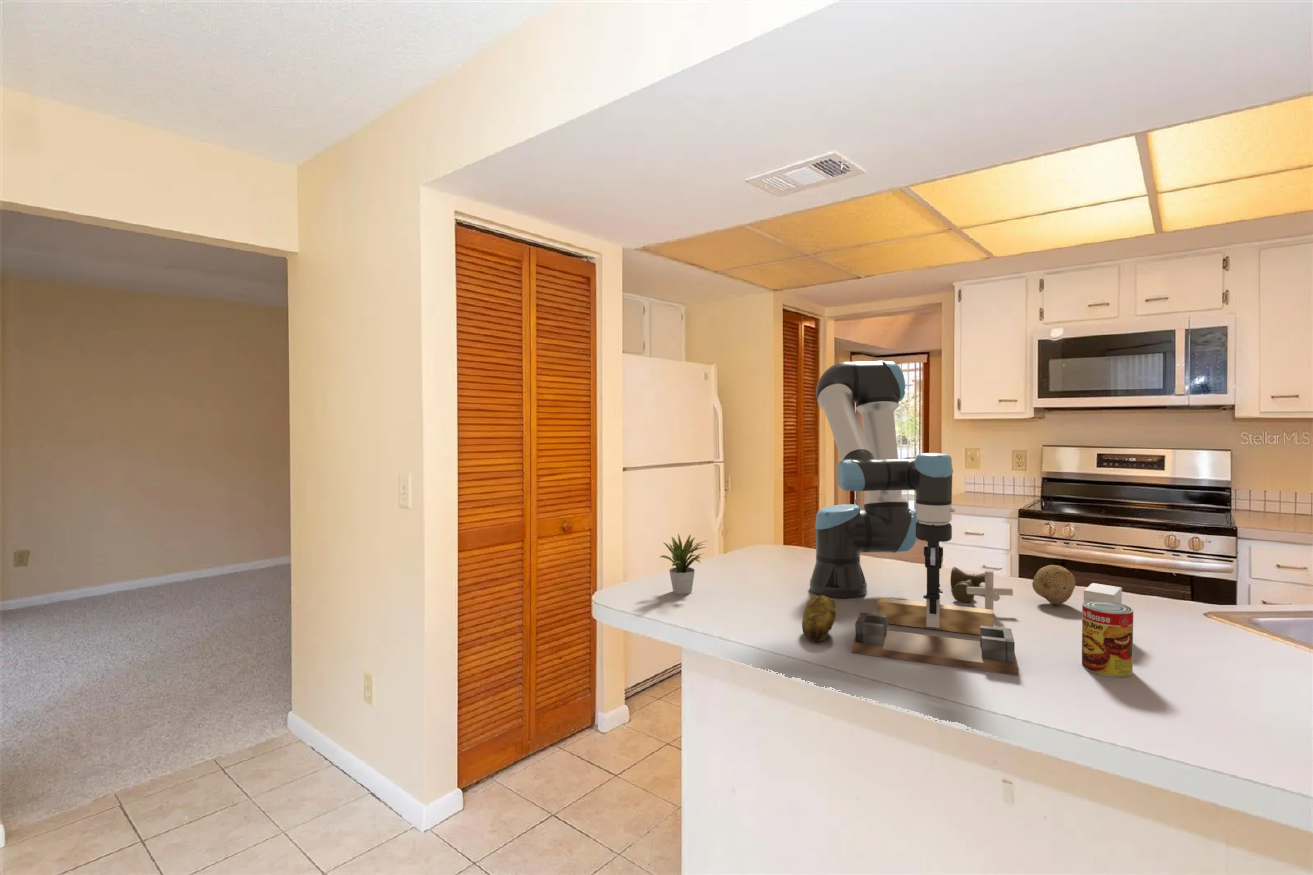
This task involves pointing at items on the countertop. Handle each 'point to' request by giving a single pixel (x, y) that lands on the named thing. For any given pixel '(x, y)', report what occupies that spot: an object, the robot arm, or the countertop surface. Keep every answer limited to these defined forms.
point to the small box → (1103, 593)
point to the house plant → (682, 565)
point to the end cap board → (937, 646)
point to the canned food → (1107, 638)
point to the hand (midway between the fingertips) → (933, 623)
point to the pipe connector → (989, 590)
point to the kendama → (964, 584)
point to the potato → (818, 617)
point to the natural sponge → (1054, 584)
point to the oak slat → (949, 615)
